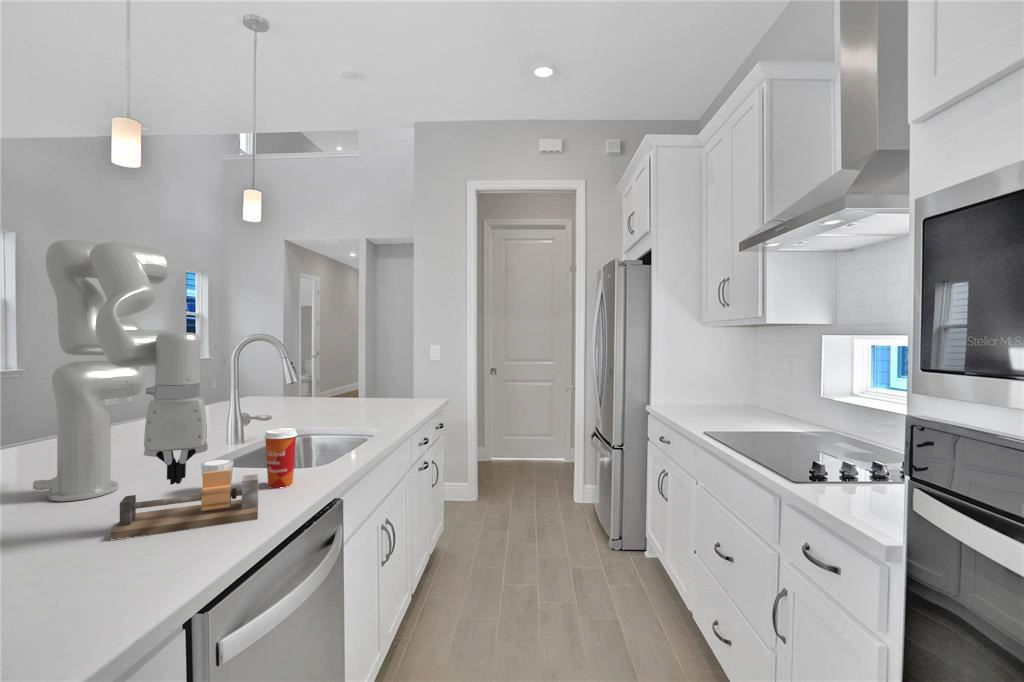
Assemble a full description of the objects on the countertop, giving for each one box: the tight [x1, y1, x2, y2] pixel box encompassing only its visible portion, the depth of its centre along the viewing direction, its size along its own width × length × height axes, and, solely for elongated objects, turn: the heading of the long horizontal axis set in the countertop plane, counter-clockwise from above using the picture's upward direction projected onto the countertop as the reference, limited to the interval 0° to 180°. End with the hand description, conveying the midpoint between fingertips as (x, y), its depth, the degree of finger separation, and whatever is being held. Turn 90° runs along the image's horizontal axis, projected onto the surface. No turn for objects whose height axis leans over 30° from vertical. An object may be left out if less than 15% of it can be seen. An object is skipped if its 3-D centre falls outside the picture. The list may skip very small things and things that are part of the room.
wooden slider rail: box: [110, 473, 259, 540], centre depth 98 cm, size 24×10×8 cm, turn 118°
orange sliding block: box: [200, 469, 232, 511], centre depth 100 cm, size 5×4×7 cm
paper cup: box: [263, 427, 298, 489], centre depth 122 cm, size 8×8×14 cm
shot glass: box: [200, 458, 234, 482], centre depth 117 cm, size 7×7×7 cm
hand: (176, 482), depth 97 cm, fingers closed
